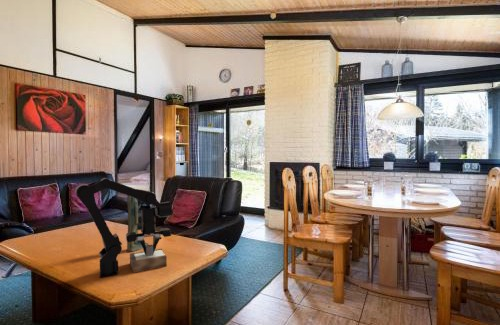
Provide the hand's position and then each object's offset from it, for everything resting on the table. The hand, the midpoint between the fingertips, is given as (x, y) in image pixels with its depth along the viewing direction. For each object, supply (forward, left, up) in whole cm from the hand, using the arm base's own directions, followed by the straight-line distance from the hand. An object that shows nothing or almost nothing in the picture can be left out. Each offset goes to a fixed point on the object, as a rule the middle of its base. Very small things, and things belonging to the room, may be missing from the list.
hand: (149, 253), depth 129 cm
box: (-1, 0, -5) cm, 5 cm away
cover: (0, 0, -2) cm, 2 cm away
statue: (-3, +28, -5) cm, 29 cm away
